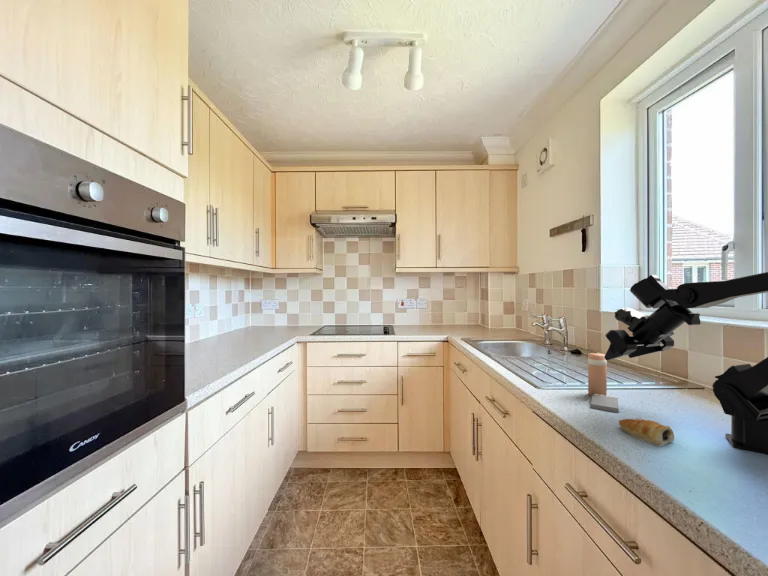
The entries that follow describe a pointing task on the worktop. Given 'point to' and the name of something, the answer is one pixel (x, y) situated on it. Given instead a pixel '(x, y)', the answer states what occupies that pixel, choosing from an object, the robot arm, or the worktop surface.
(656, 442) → the pastry
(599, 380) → the stub
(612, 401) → the pad
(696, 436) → the worktop surface
